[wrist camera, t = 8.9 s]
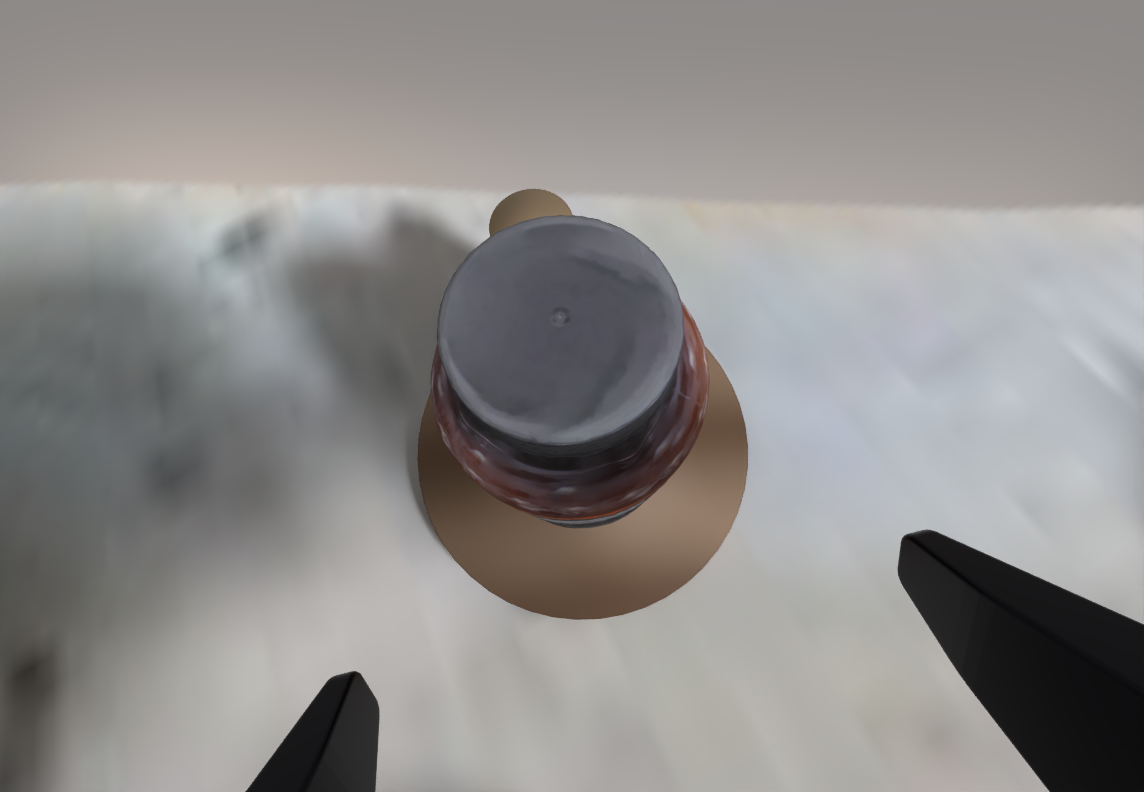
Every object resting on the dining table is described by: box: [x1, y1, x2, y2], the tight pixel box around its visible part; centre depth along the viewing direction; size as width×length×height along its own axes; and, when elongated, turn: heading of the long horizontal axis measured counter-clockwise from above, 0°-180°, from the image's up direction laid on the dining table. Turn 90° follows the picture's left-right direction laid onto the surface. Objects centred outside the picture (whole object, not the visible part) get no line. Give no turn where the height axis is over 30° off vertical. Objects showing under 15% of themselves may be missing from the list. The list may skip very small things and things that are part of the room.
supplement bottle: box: [431, 215, 710, 529], centre depth 14 cm, size 6×6×11 cm
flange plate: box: [418, 189, 748, 620], centre depth 17 cm, size 12×12×7 cm
